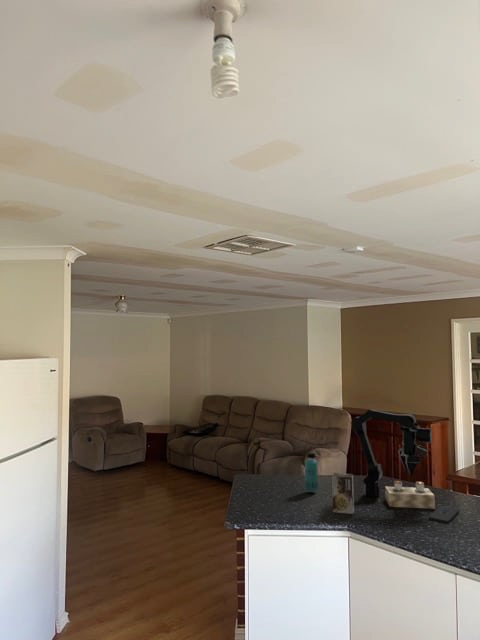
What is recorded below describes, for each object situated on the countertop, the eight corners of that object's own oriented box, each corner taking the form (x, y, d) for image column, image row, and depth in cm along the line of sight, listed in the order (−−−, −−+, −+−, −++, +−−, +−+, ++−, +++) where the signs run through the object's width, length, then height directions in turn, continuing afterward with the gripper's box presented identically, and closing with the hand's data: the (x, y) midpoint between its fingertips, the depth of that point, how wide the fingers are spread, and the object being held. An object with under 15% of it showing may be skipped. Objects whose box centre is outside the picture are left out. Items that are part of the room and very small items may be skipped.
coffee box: (354, 510, 212) (353, 473, 213) (353, 514, 206) (352, 477, 207) (334, 507, 215) (333, 472, 216) (332, 512, 209) (331, 475, 210)
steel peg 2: (417, 495, 220) (416, 483, 221) (415, 493, 224) (414, 481, 224) (424, 496, 220) (424, 483, 220) (423, 493, 223) (422, 481, 224)
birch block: (389, 506, 217) (389, 493, 218) (385, 498, 229) (385, 486, 230) (434, 508, 215) (434, 495, 215) (428, 500, 226) (427, 488, 227)
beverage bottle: (303, 491, 242) (303, 451, 244) (316, 490, 243) (315, 451, 244) (306, 494, 236) (306, 454, 237) (319, 494, 236) (318, 454, 238)
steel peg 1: (395, 494, 221) (394, 482, 222) (393, 492, 225) (393, 480, 225) (402, 495, 221) (402, 482, 221) (401, 493, 224) (401, 480, 225)
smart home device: (460, 508, 211) (448, 520, 195) (460, 512, 211) (448, 525, 195) (440, 505, 216) (427, 516, 200) (440, 509, 216) (428, 520, 200)
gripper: (431, 445, 218) (432, 479, 217) (420, 438, 236) (420, 469, 235) (407, 444, 219) (407, 478, 218) (398, 437, 238) (398, 468, 237)
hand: (409, 473), depth 227 cm, fingers open, 9 cm apart
